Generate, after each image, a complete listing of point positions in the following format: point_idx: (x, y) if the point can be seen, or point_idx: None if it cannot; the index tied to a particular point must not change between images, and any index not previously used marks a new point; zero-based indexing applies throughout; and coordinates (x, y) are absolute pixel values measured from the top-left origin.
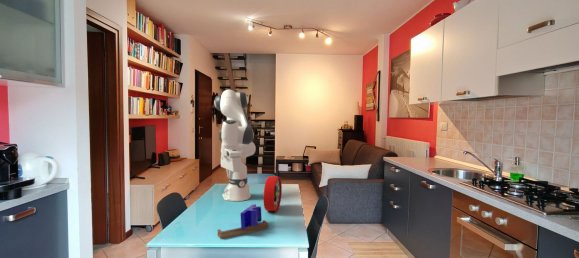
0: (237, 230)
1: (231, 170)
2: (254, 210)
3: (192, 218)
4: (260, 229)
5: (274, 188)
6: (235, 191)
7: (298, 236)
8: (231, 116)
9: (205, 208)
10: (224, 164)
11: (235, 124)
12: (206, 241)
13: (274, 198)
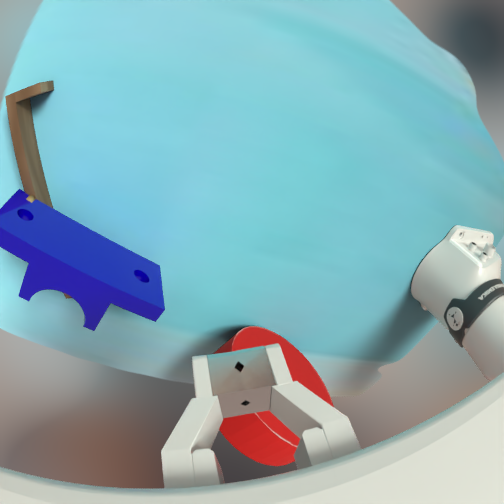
0: (22, 170)
1: (13, 484)
2: (20, 290)
3: (348, 21)
4: None
5: (220, 427)
6: (452, 277)
7: (15, 328)
8: None
9: (434, 125)
10: (431, 496)
11: None
12: (25, 37)
13: None
